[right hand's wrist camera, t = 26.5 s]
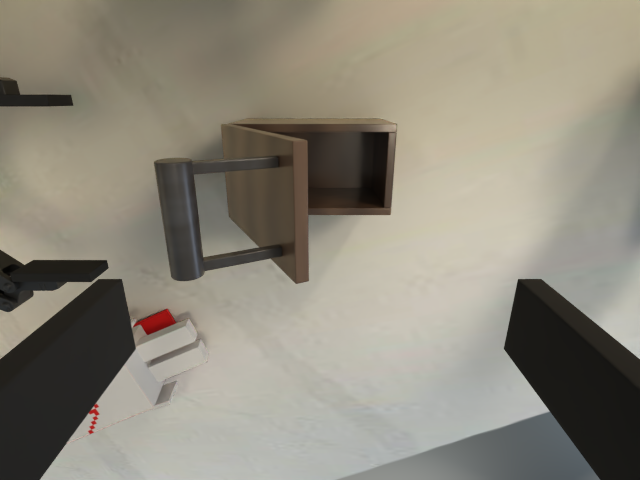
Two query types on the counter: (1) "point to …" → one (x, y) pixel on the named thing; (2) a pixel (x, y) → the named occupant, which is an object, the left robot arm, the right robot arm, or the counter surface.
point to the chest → (342, 162)
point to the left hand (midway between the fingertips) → (82, 192)
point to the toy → (147, 371)
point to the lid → (241, 203)
